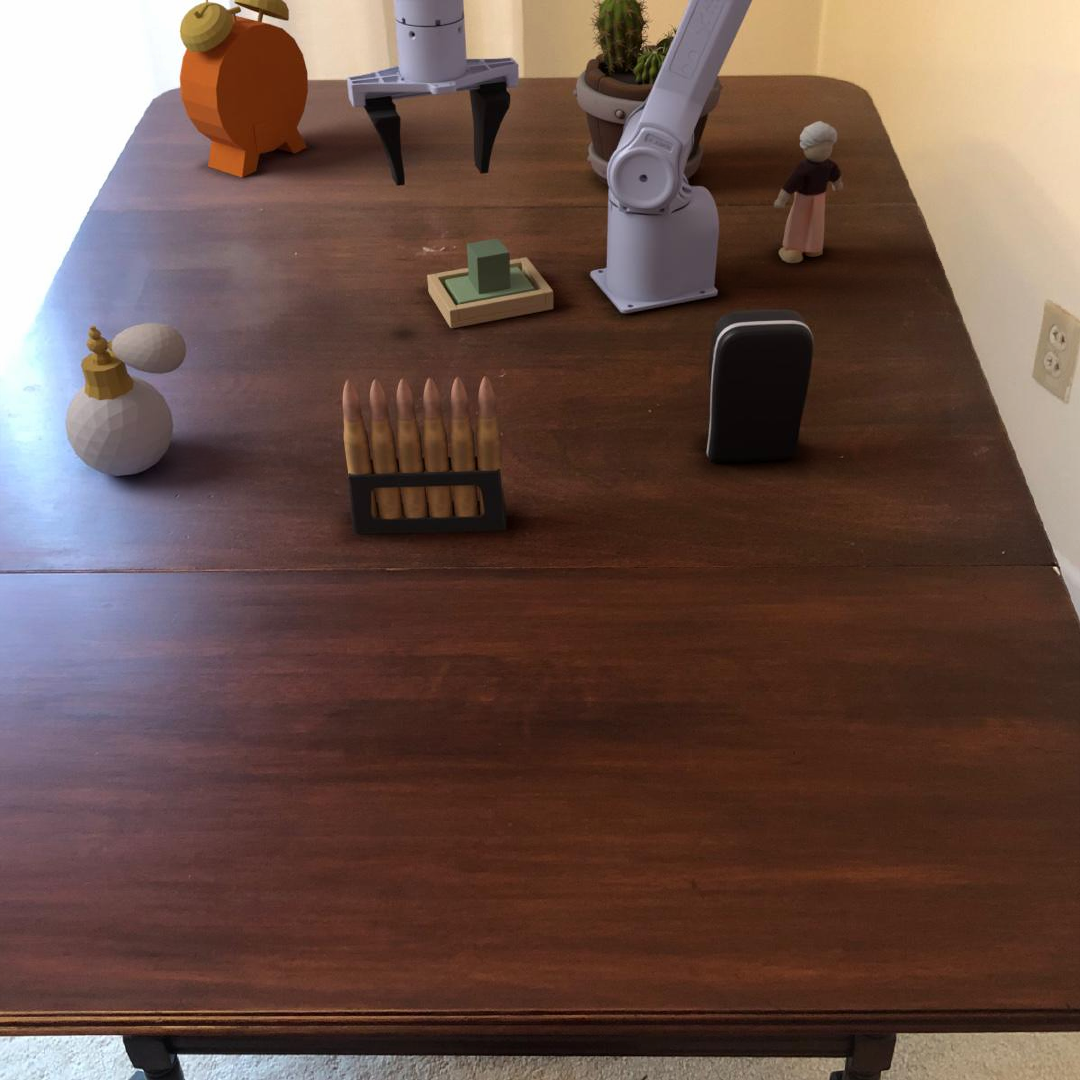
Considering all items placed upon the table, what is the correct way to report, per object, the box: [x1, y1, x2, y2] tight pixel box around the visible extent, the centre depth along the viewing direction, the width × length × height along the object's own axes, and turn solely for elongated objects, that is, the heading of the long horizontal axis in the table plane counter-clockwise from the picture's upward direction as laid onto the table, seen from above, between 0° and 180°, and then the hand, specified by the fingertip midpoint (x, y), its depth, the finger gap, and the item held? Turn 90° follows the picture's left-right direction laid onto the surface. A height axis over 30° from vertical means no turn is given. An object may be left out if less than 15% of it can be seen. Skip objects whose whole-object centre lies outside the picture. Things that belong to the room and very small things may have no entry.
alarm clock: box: [179, 0, 309, 179], centre depth 130 cm, size 13×6×20 cm, turn 144°
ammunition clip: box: [342, 375, 507, 535], centre depth 82 cm, size 11×2×12 cm, turn 92°
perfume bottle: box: [64, 322, 187, 477], centre depth 88 cm, size 8×10×12 cm
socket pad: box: [426, 256, 554, 330], centre depth 110 cm, size 10×7×2 cm
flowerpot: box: [572, 0, 723, 188], centre depth 125 cm, size 14×15×20 cm
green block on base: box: [445, 238, 534, 305], centre depth 109 cm, size 7×4×4 cm, turn 110°
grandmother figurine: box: [773, 120, 844, 264], centre depth 113 cm, size 8×4×13 cm, turn 131°
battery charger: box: [705, 309, 814, 463], centre depth 89 cm, size 7×4×11 cm, turn 93°
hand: (440, 175), depth 109 cm, fingers open, 7 cm apart
